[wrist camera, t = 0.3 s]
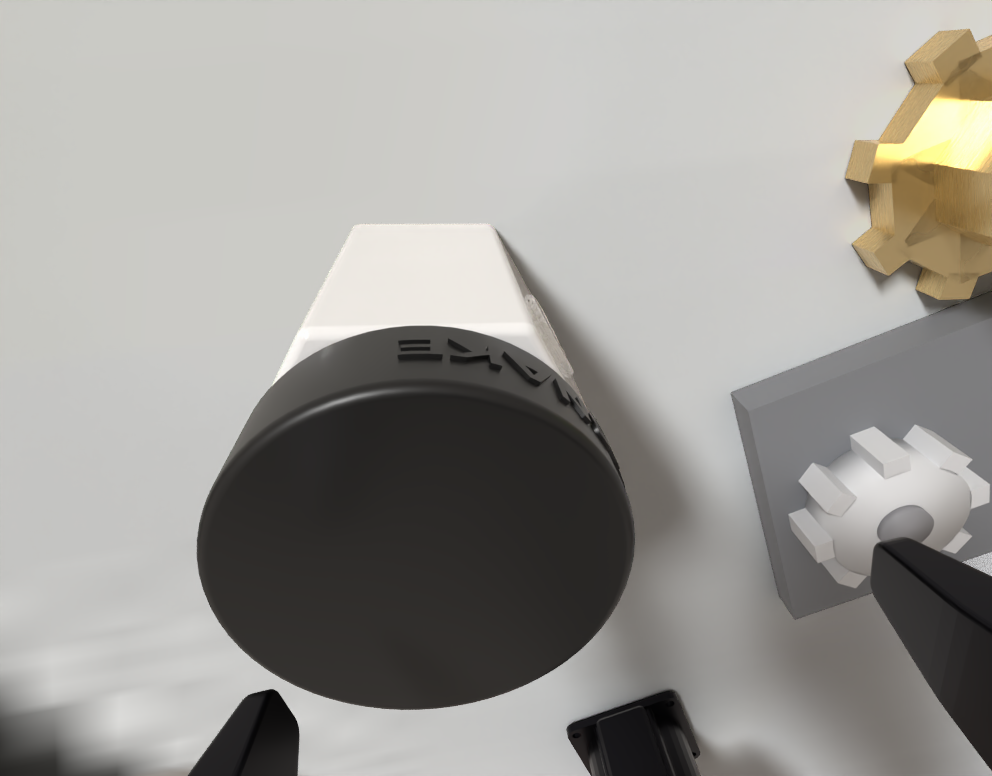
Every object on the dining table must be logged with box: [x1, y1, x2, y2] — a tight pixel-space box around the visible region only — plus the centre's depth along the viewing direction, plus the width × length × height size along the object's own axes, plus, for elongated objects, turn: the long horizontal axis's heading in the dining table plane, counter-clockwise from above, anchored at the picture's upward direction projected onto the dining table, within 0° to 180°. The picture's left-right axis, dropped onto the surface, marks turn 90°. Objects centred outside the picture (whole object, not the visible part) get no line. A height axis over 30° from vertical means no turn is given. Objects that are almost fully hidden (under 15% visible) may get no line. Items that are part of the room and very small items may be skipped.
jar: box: [197, 224, 635, 710], centre depth 16 cm, size 9×8×12 cm
